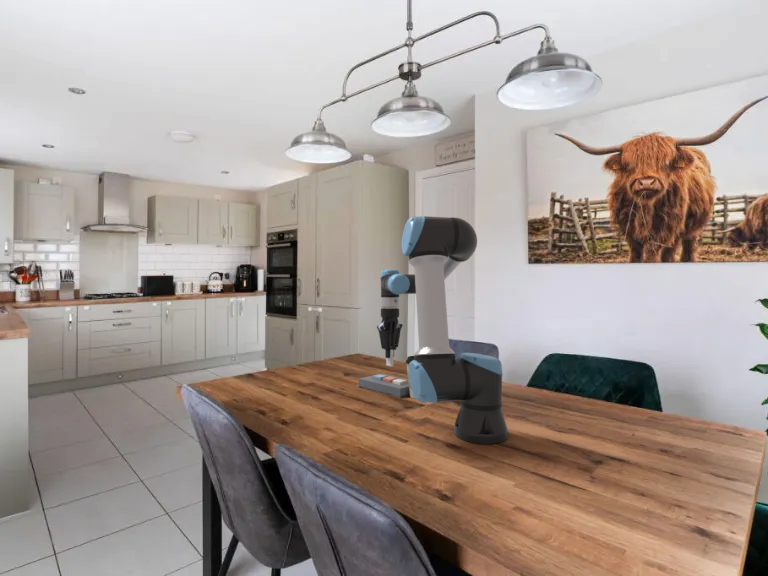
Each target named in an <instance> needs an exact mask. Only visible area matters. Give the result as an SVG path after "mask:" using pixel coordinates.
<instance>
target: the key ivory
mask: <svg viewBox="0 0 768 576" xmlns="http://www.w3.org/2000/svg"><path fill="white" fill-rule="evenodd" d="M403 379H404V378H403ZM403 379H396V380H393V384H398V385H403V384H406V383H407V380H408V379H407V380H403Z"/></svg>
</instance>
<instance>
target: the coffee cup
mask: <svg viewBox="0 0 768 576" xmlns="http://www.w3.org/2000/svg"><path fill="white" fill-rule="evenodd" d="M413 360H415V359H414V355H409V356H407V358H406V360H405V364H406V372H407V373H406V375H407V380H408V384H409V390H410V395H409V396H410V398H411V399H415V400H417V399H416V397H415V396H414V394H413V392H412V389H411V386H410V382H409V375H408V370H409V363H410V362H411V361H413Z"/></svg>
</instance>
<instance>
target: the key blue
mask: <svg viewBox="0 0 768 576" xmlns="http://www.w3.org/2000/svg"><path fill="white" fill-rule="evenodd" d="M378 374H379V375H377V374H374V375H375V376H373V375H372V376H373V379H377V380H383V378H385V377H387V376H385V375H386V374H384V375H381V374H382V373H378Z"/></svg>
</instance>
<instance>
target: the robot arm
mask: <svg viewBox="0 0 768 576" xmlns="http://www.w3.org/2000/svg"><path fill="white" fill-rule="evenodd" d="M477 246H478V237H477V232H476V231H475V229H474V227H473V226H472V225H471V223H469V222H468V221H467V220H465V219H462V218H460V217H445V216H444V217H443V216H425V215H422V216H412V217H409V218H408V219H407V221H406V223H405V224H404V229H403V231H402V237H401V251H402V254H403V255H404V256H406V257H408V263H409V264H410V265H411V266H412V267H413V268H414V274H410V273H409V274H408V273H406V274H403V273H400V271H399V269H382V270H381V272H380V307H381V309H380V317H381V323H380V325H377V326H376V329H377V331H378V335H379V341H380V346H381V349H382V350H384V351H385V355H384V356H385V363H386V364H385V366H387V367H394V364H395V363H394V357H395V351H396V350H397V348H398V347H399V343H400V337H401V331H402V328H403V324H402V323H400V322H399V319H398V318H399V317H400V309H399V307H400V295H407V294H409V295H410V294H411V295H412V294H413V295H415V299H416V314H417V331H418V332H417V334H418V349H417V351H416V352H415V353H414V355H413V356H414V359H415V360H413V361H411V362H410V363H409V370H408V375H409V382H410V386H411V389H412V392H413V394H414V396H415V397H416V399H415V400H417V401H418V402H420V403H433V404H436V403H442V402H445V403H446V402H458V401H460V407H459V409H458V410H459V411H458V413H457V416H456V418H455V422H454V427H453V428H454V431H453V433H454V435H455V436H456V437H457V438H458V439H460V440H462V441H466V442H470V443H474V444H479V445H480V444H482V445H483V444H484V445H485V444H486V445H487V444H488V445H492V444H499V443H502V442H504V441H506V440H507V439H508V432H509V431H508V426H507V422H506V420H505V417H504V416H505V415H504V413H503V410H502V402H503V401H502V398H503V395H502V394H503V391H502V389H503V375H504V374H503V367H502V362H501V360H500V359H499V358H497V357H494V356H492V355H487V354H482V353H476V352H475V353H474V352H473V353H472V352H462V353H461V354H460V356H459V357H460V358H457V359H456V352H455V351H454V350H453V349H452V348H451V347H450V342H449V341H450V338H449V327H448V326H449V325H448V315H447V314H448V311H447V297H446V283H445V280H446V279H447V278H448V277H449V276H450V275H451V274H452V273H453V272H454V271H455V270H456V269H457V268H458V266H459V265H461V263H463V262H464V263H465V262H466V261H468V260H469V259H470V258H471V257H472V256H473V255H474V253H475V252H476V250H477ZM408 375H407V376H408Z"/></svg>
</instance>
